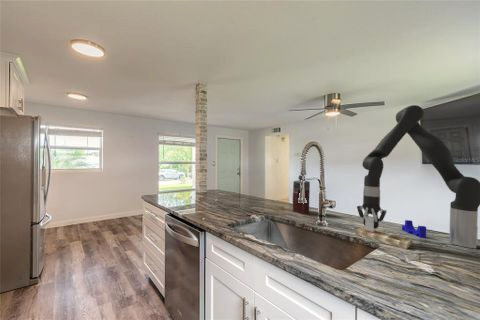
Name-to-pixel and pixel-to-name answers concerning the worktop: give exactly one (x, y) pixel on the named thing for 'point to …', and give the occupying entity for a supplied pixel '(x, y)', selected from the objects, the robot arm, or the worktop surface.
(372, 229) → the steel peg
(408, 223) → the cable clip
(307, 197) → the dark red bottle
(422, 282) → the worktop surface
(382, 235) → the birch rail
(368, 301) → the worktop surface
